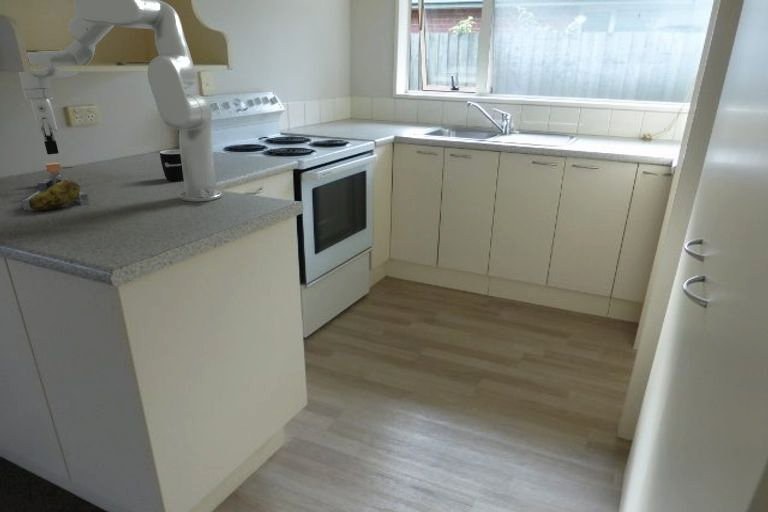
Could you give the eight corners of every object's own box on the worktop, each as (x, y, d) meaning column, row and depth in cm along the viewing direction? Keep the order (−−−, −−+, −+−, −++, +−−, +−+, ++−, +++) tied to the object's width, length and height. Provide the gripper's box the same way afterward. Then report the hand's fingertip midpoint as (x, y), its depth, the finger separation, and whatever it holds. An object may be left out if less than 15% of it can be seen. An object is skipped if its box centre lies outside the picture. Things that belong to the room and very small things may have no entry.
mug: (161, 182, 185) (157, 154, 181) (166, 177, 193) (162, 149, 189) (196, 181, 187) (193, 153, 183) (199, 176, 195) (196, 149, 192)
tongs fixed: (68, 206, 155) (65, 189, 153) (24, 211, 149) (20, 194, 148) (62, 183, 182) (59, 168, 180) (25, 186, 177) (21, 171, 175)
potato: (36, 206, 154) (30, 179, 152) (85, 203, 158) (80, 177, 155) (28, 214, 147) (22, 186, 144) (80, 210, 151) (74, 183, 148)
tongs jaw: (56, 191, 171) (53, 176, 169) (64, 190, 172) (61, 175, 171) (81, 205, 156) (78, 188, 155) (89, 203, 158) (86, 187, 156)
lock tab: (61, 170, 177) (59, 163, 176) (47, 172, 175) (45, 164, 174) (60, 169, 180) (59, 162, 179) (47, 170, 178) (45, 163, 177)
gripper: (53, 95, 159) (67, 155, 165) (51, 93, 171) (65, 149, 177) (23, 96, 155) (39, 158, 162) (24, 94, 167) (39, 152, 174)
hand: (53, 153), depth 169 cm, fingers closed
